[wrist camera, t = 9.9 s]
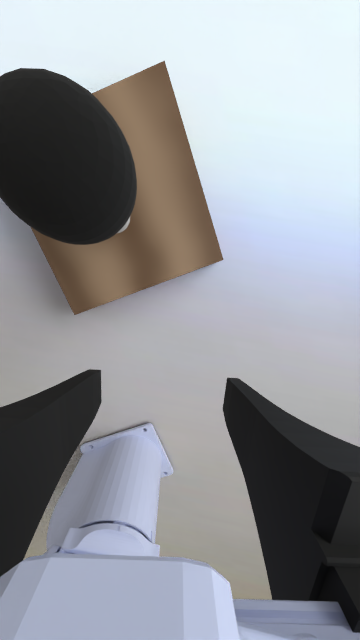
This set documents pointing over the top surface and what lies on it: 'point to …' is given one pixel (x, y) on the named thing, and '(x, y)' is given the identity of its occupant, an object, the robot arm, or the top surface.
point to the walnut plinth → (143, 204)
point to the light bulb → (63, 159)
